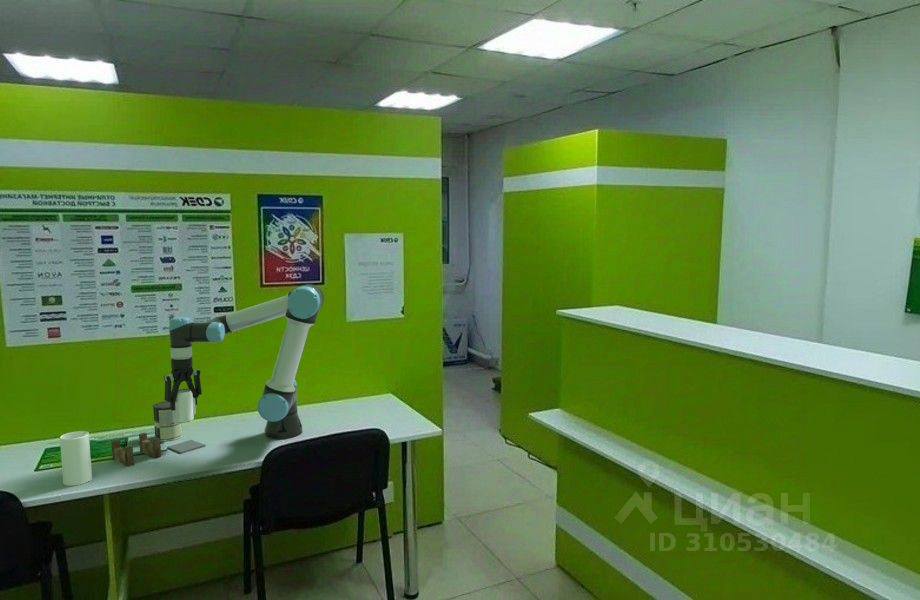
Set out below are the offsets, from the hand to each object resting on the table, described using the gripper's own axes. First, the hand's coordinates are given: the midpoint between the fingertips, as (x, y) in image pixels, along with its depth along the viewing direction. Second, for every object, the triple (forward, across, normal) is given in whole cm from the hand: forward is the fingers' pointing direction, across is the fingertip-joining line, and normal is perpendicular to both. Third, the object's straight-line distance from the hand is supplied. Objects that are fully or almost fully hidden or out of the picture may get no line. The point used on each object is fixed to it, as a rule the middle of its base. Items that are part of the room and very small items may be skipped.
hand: (184, 415), depth 234 cm
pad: (+13, 0, 0) cm, 13 cm away
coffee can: (+13, -2, -17) cm, 21 cm away
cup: (+13, +39, +1) cm, 41 cm away
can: (+2, 0, 0) cm, 2 cm away
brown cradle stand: (+13, +17, -4) cm, 22 cm away
